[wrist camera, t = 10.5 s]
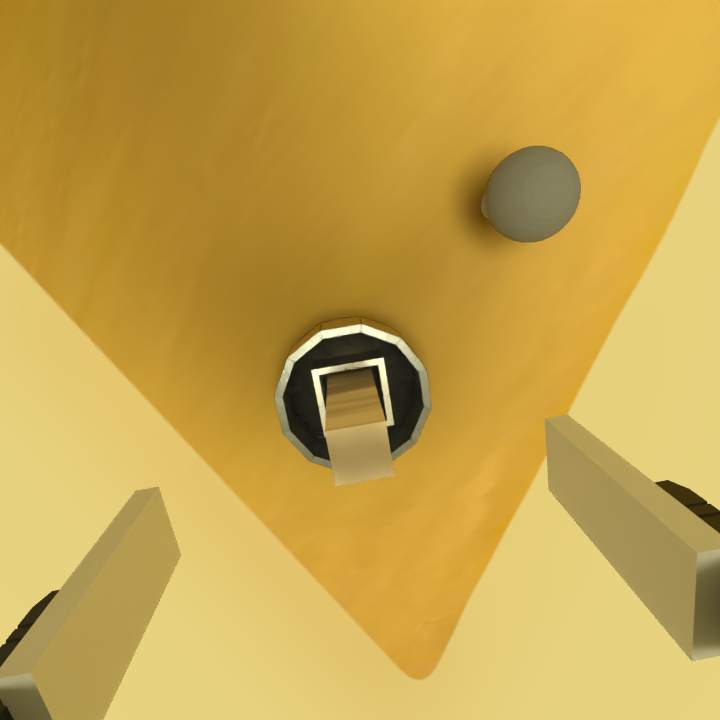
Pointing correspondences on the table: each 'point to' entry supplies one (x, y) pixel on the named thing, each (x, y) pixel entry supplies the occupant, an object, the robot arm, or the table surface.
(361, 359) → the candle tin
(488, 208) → the light bulb
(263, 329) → the table surface
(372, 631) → the table surface
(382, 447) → the tan square post
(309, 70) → the table surface
